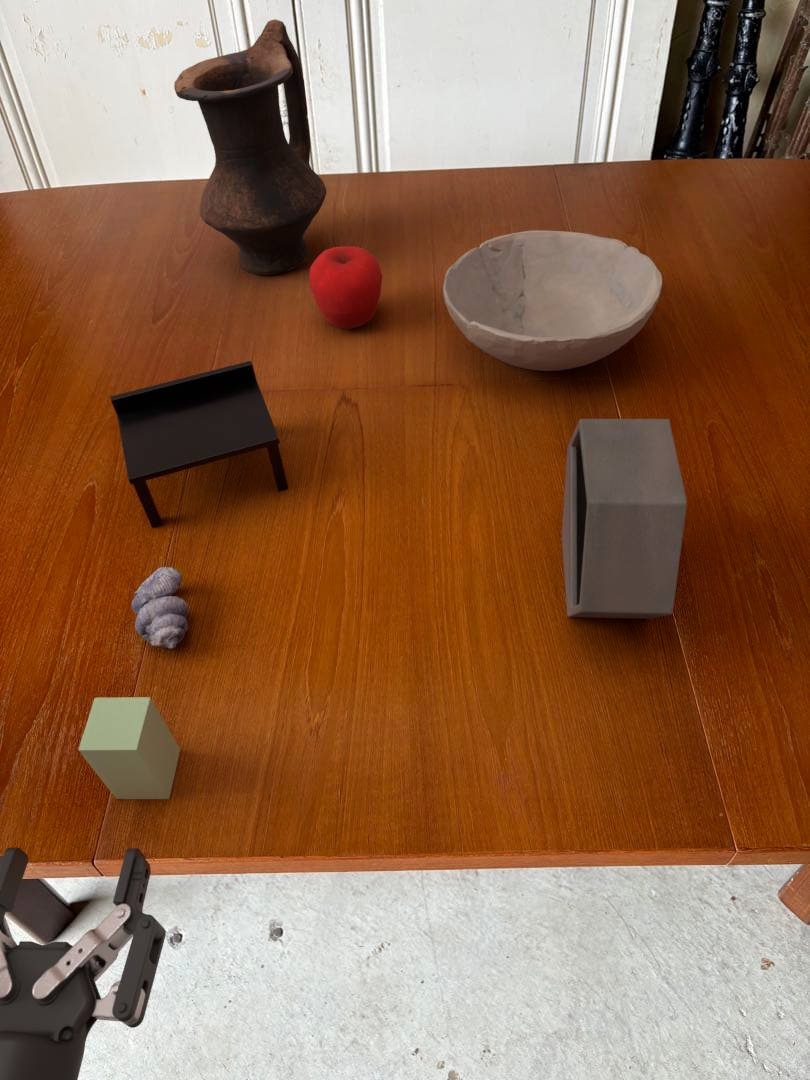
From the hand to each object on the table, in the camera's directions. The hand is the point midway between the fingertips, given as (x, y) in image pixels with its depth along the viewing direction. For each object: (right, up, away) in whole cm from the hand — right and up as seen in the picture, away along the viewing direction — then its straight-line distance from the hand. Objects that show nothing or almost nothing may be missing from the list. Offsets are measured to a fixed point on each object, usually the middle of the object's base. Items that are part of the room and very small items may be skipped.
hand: (77, 851), depth 57 cm
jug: (+3, +66, +70) cm, 96 cm away
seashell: (-1, +13, +24) cm, 28 cm away
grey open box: (+43, +17, +24) cm, 52 cm away
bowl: (+41, +47, +51) cm, 81 cm away
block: (+1, +1, +14) cm, 14 cm away
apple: (+15, +52, +57) cm, 79 cm away
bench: (0, +29, +38) cm, 48 cm away
